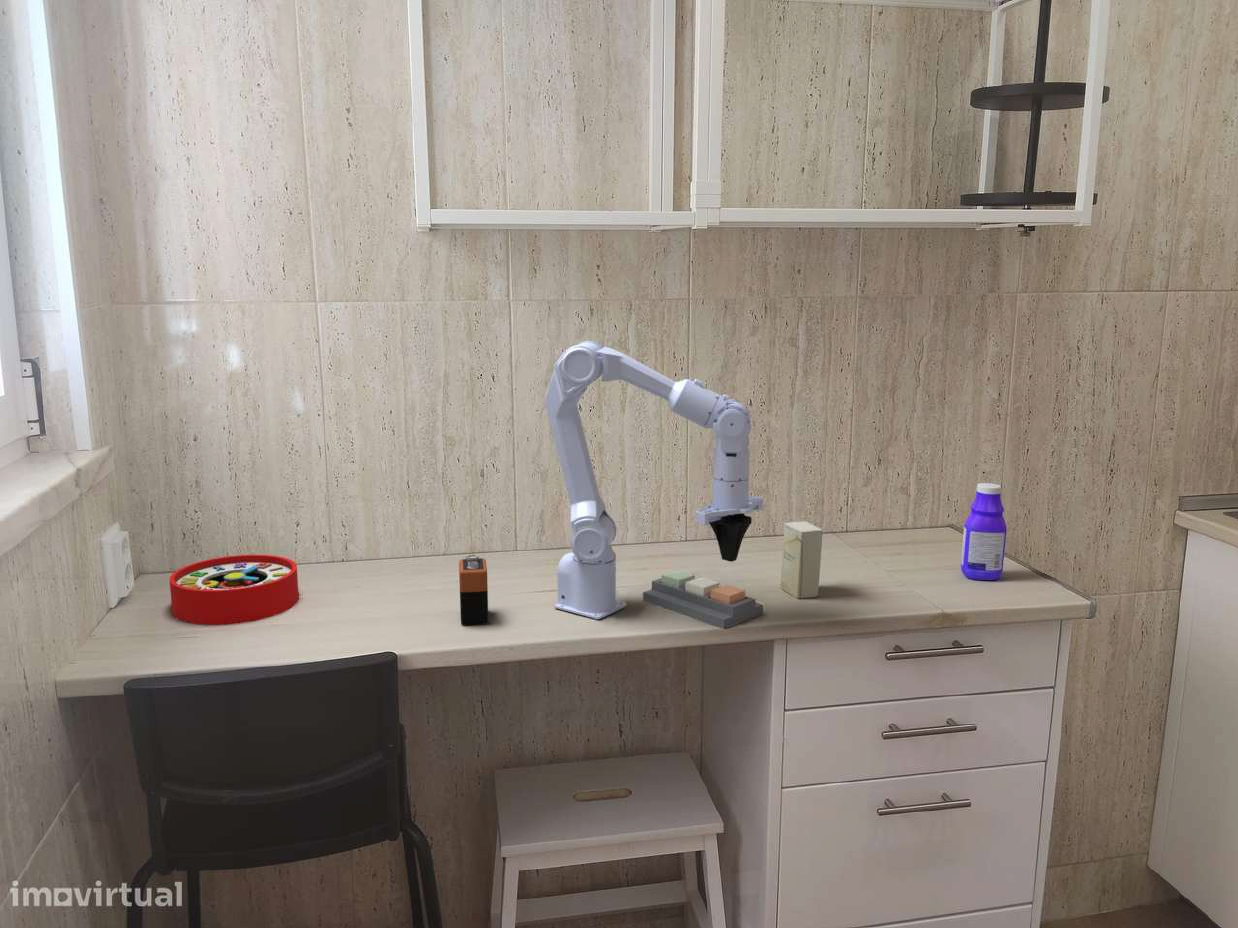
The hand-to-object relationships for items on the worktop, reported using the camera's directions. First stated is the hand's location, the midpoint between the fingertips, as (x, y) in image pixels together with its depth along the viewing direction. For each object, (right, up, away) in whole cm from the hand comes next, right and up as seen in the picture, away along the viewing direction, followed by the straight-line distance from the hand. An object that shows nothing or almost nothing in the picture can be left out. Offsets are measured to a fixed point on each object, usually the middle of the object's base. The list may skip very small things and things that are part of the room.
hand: (729, 559), depth 160 cm
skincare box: (+14, -7, +13) cm, 20 cm away
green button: (-8, -5, +9) cm, 13 cm away
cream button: (-4, -6, +5) cm, 9 cm away
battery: (-41, -10, 0) cm, 42 cm away
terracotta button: (0, -7, +1) cm, 7 cm away
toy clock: (-82, -9, +7) cm, 83 cm away
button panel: (-4, -8, +6) cm, 11 cm away
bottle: (+49, -6, +22) cm, 54 cm away
